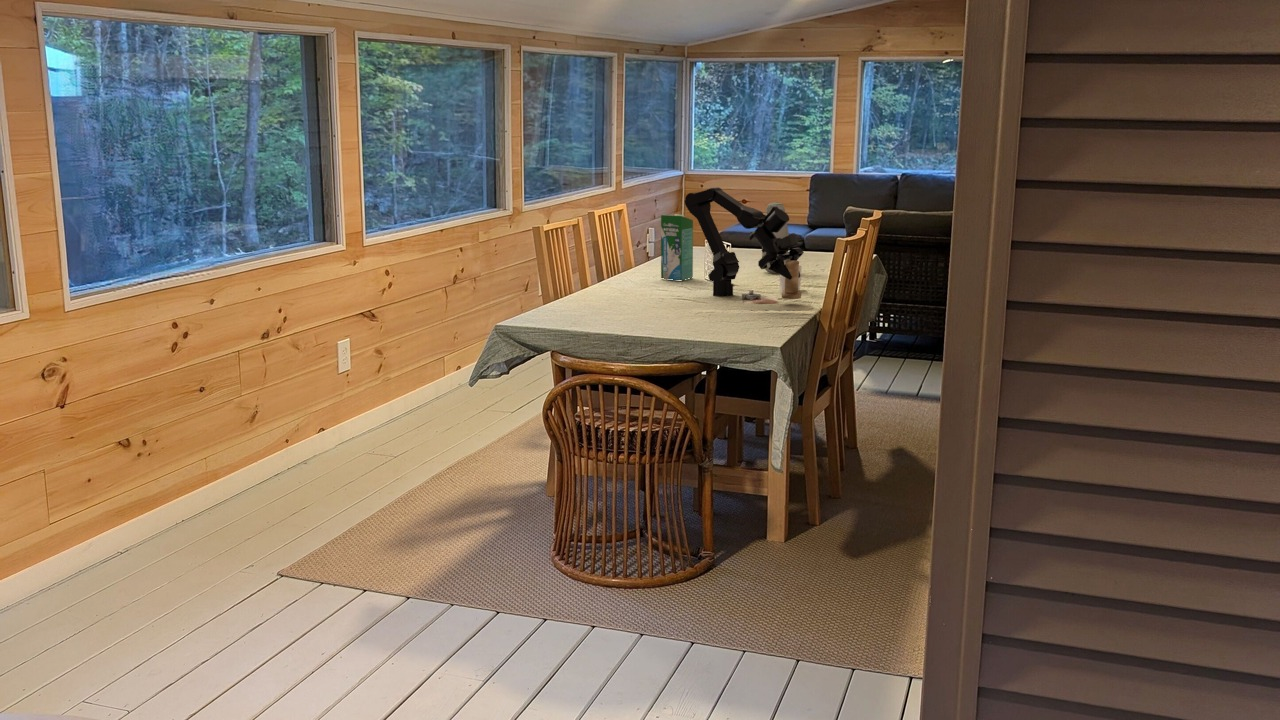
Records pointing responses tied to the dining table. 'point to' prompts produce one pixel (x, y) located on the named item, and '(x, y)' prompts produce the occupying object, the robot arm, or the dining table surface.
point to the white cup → (782, 280)
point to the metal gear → (751, 296)
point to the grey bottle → (780, 234)
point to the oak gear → (792, 281)
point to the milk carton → (676, 247)
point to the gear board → (762, 301)
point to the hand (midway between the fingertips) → (795, 277)
